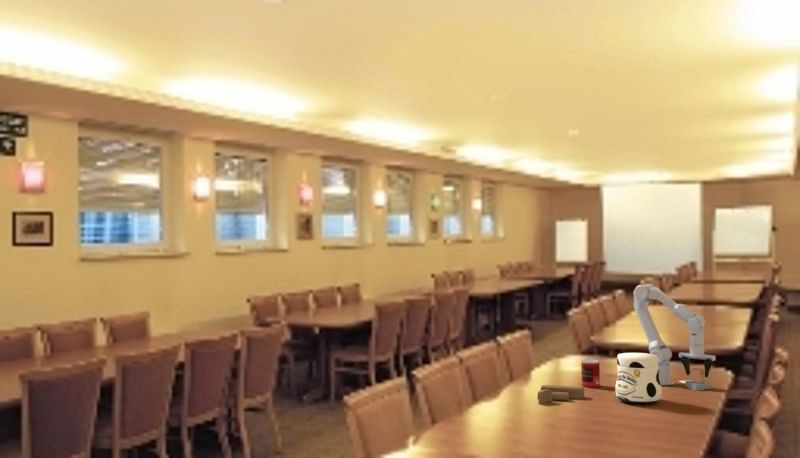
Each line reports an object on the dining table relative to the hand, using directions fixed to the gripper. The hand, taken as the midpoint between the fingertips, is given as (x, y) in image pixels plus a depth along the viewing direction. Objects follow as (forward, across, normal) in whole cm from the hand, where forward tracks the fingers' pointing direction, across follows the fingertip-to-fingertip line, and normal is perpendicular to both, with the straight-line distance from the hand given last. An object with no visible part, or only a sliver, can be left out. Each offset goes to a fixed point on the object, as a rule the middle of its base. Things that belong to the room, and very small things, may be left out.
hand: (697, 375), depth 299 cm
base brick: (+6, 0, 0) cm, 6 cm away
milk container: (+6, -9, -38) cm, 40 cm away
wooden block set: (+6, -34, -55) cm, 65 cm away
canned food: (+5, -37, -23) cm, 44 cm away
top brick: (+2, 0, 0) cm, 2 cm away
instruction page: (+5, -6, +9) cm, 12 cm away
